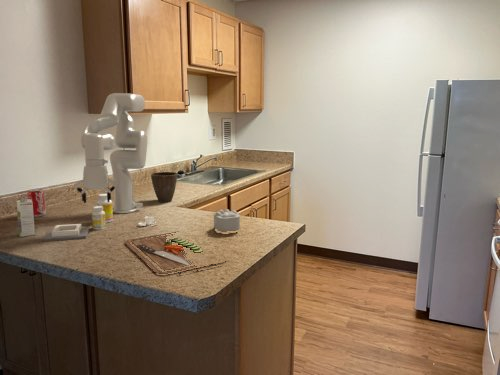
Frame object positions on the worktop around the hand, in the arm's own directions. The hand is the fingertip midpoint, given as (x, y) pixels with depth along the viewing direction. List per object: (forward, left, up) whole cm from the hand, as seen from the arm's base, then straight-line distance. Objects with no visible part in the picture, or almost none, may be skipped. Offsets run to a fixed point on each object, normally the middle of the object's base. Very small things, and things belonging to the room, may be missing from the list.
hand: (96, 202), depth 175 cm
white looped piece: (-19, -3, -13) cm, 23 cm away
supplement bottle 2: (0, -1, -12) cm, 12 cm away
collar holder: (+12, +6, -12) cm, 18 cm away
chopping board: (-30, +37, -13) cm, 49 cm away
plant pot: (-32, -49, -12) cm, 60 cm away
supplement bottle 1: (-2, -12, -12) cm, 17 cm away
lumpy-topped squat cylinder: (-54, +15, -12) cm, 58 cm away
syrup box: (+28, +2, -12) cm, 31 cm away
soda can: (+31, -31, -12) cm, 45 cm away
